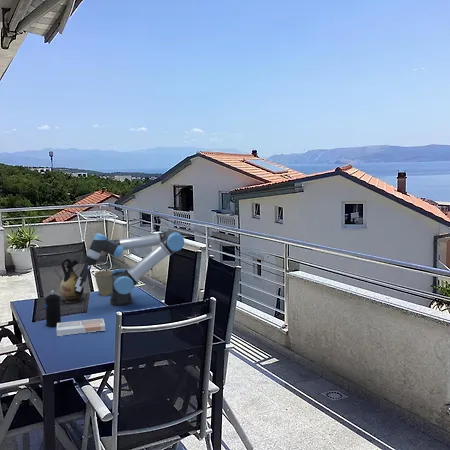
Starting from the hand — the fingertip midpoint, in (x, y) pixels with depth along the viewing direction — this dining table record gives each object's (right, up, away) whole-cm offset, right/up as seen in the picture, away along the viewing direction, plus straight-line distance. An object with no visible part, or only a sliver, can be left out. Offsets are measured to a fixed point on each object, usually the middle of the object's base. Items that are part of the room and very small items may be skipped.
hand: (77, 289), depth 280 cm
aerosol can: (-7, -18, -20) cm, 28 cm away
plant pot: (+6, -11, +46) cm, 48 cm away
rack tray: (+11, -19, -28) cm, 36 cm away
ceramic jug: (-13, -13, +28) cm, 33 cm away
